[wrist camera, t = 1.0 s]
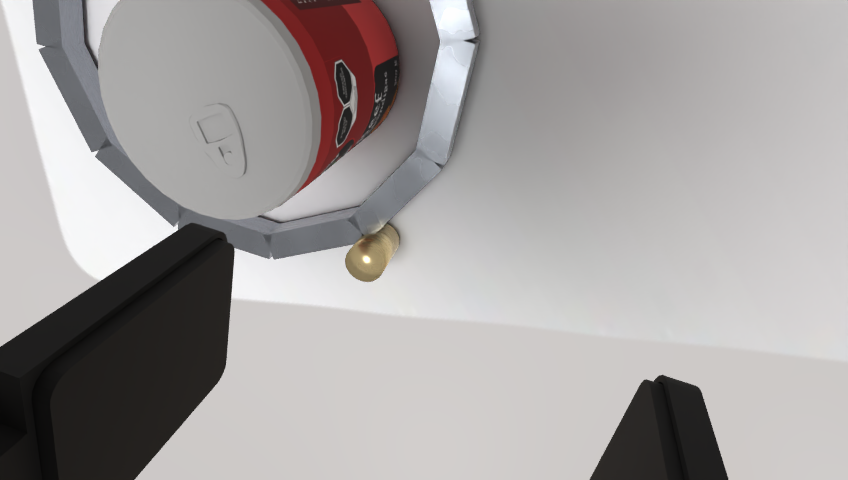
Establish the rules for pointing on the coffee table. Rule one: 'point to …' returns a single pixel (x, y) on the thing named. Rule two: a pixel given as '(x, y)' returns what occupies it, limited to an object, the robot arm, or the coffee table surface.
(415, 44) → the coffee table surface
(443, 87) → the ring
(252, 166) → the canned food
